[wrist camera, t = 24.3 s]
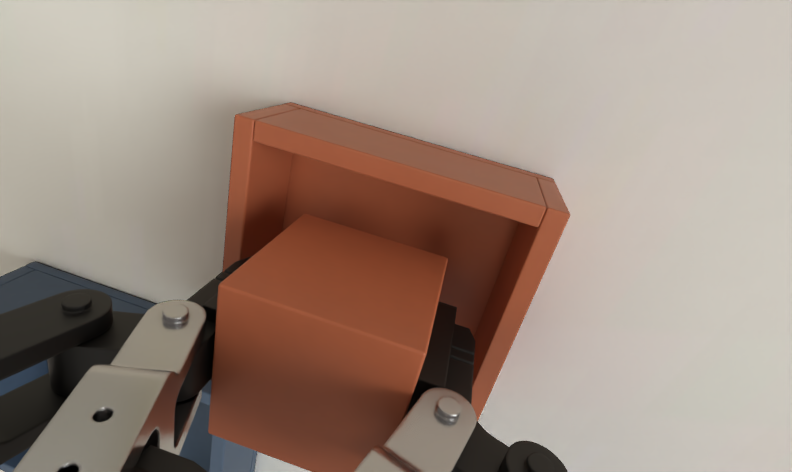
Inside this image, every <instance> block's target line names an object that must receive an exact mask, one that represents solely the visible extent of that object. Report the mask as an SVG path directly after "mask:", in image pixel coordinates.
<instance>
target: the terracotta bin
mask: <svg viewBox="0 0 792 472" xmlns="http://www.w3.org/2000/svg"><path fill="white" fill-rule="evenodd" d="M303 214H308V215H311V216H315V217H318V218H321V219H324V220H328V221H331V222H334V223H337V224H340V225H344V226H347V227H350V228H353V229H356V230H360V231H363V232H366V233H369V234H372V235H376V236H379V237H382V238H385V239H388V240H392V241H395V242H398V243H401V244H405V245H408V246H411V247H414V248H417V249H421V250H424V251H427V252H430V253H433V254H437V255H440V256H443V257H446V258H447V259H448V262H447V266H446V271H445V275H444V279H443V284H442V288H441V293H440V297H439V301H440V302H443V303H446V304H449V305H452V306H455V307H457V312H456V318H455V324H457V325H460V326H463V327H467V328H469V329H470V331H471V333H472V335H473V337H474V339H475V354H474V365H473V366H474V371H473V387H472V402H471V405H472V407H473V408H474V410H475V413H476V418H477V421H478V419H479V417H480V415H481V412H482V410H483V408H484V406H485V404H486V401H487V399H488V397H489V395H490V392H491V390H492V388H493V386H494V384H495V381H496V379H497V377H498V375H499V372H500V370H501V368H502V366H503V364H504V361H505V359H506V357H507V355H508V352H509V350H510V348H511V346H512V344H513V341H514V339H515V337H516V335H517V332H518V330H519V328H520V326H521V324H522V321H523V319H524V317H525V315H526V312H527V310H528V308H529V306H530V304H531V301H532V299H533V297H534V295H535V292H536V290H537V288H538V286H539V284H540V281H541V279H542V277H543V275H544V272H545V270H546V268H547V266H548V264H549V261H550V259H551V257H552V255H553V252H554V250H555V248H556V246H557V244H558V241H559V239H560V237H561V235H562V232H563V230H564V228H565V226H566V224H567V221H568V219H569V217H570V213H569V211H568V209H567V207H566V205H565V203H564V200H563V198H562V196H561V194H560V192H559V190H558V188H557V186H556V184H555V182H554V179H552V178H548V177H545V176H541V175H538V174H535V173H531V172H528V171H524V170H521V169H517V168H514V167H511V166H507V165H504V164H500V163H497V162H493V161H490V160H487V159H483V158H480V157H476V156H473V155H469V154H466V153H463V152H459V151H456V150H452V149H449V148H445V147H442V146H438V145H435V144H432V143H428V142H425V141H421V140H418V139H414V138H411V137H408V136H404V135H401V134H397V133H394V132H390V131H387V130H384V129H380V128H377V127H373V126H370V125H366V124H363V123H360V122H356V121H353V120H349V119H346V118H342V117H339V116H335V115H332V114H329V113H325V112H322V111H318V110H315V109H311V108H308V107H305V106H301V105H298V104H294V103H291V102H290V103H286V104H282V105H277V106H273V107H268V108H264V109H259V110H254V111H250V112H245V113H241V114H236V115H235V119H234V132H233V145H232V158H231V170H230V183H229V196H228V209H227V221H226V234H225V247H224V260H223V272H224V271H225V269H227V268H228V267H229V266H231V265H232V264H233V263H234V262H236V261H239V260H242V259H245V258H248V257H252V256H254V255H255V254H256V253H257V252H258V251H260V250H261V249H262V248H263V247H264V246H266V245H267V244H268V243H269V242H271V241H272V240H273V239H274V238H275V237H277V236H278V235H279V234H280V233H281V232H283V231H284V230H285V229H286V228H287V227H289V226H290V225H291V224H292V223H294V222H295V221H296V220H297V219H298V218H300V217H301V216H302V215H303Z"/></svg>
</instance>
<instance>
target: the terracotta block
mask: <svg viewBox="0 0 792 472" xmlns="http://www.w3.org/2000/svg"><path fill="white" fill-rule="evenodd" d="M447 262H448V259H447V258H446V257H443V256H440V255H437V254H433V253H430V252H427V251H424V250H421V249H417V248H414V247H411V246H408V245H405V244H401V243H398V242H395V241H392V240H388V239H385V238H382V237H379V236H376V235H372V234H369V233H366V232H363V231H360V230H356V229H353V228H350V227H347V226H344V225H340V224H337V223H334V222H331V221H328V220H324V219H321V218H318V217H315V216H311V215H308V214H303V215H302V216H301V217H300V218H298V219H297V220H296V221H295V222H294V223H292V224H291V225H290V226H289V227H287V228H286V229H285V230H284V231H283V232H281V233H280V234H279V235H278V236H277V237H275V238H274V239H273V240H272V241H271V242H269V243H268V244H267V245H266V246H264V247H263V248H262V249H261V250H260V251H258V252H257V253H256V254H255V255H254V256H252V257H251V258H250V259H249V260H248V261H246V262H245V263H244V264H243V265H241V266H240V267H239V268H238V269H237V270H235V271H234V272H233V273H232V274H231V275H229V276H228V277H227V278H226V279H225V280H223V281H222V282H221V283H220V284H219V286H218V298H217V312H216V326H215V341H214V355H213V369H212V383H211V398H210V412H209V426H208V432H209V433H210V434H212V435H214V436H217V437H220V438H223V439H225V440H228V441H231V442H233V443H236V444H239V445H241V446H244V447H247V448H249V449H252V450H255V451H258V452H260V453H263V454H266V455H268V456H271V457H274V458H276V459H279V460H282V461H284V462H287V463H290V464H293V465H295V466H298V467H301V468H303V469H306V470H309V471H311V472H354V471H355V469H356V468H357V467H358V465H359V464H360V463H361V462H362V460H363V459H364V458H365V457H366V455H367V454H368V453H369V452H370V450H371V449H372V448H373V447H374V446H376V445H379V446H381V447H382V446H383V445H384V444H385V443H386V441H387V440H388V439H389V437H390V436H391V435H392V433H393V432H394V431H395V429H396V428H397V427H398V426H399V424H400V423H401V422H402V420H403V419H404V418H405V416H406V413H407V410H408V407H409V404H410V401H411V398H412V395H413V393H414V390H415V387H416V384H417V381H418V378H419V375H420V372H421V369H422V366H423V363H424V360H425V357H426V354H427V350H428V346H429V341H430V337H431V332H432V328H433V324H434V319H435V315H436V310H437V306H438V301H439V297H440V293H441V288H442V284H443V279H444V275H445V271H446V266H447Z"/></svg>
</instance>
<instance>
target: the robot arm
mask: <svg viewBox="0 0 792 472" xmlns="http://www.w3.org/2000/svg"><path fill="white" fill-rule="evenodd" d="M250 258H251V257H248V258H245V259H242V260H239V261H236V262H234V263H233V264H232V265H231V266H229V267H228V268H227V269H225V271H224V272H222V273H220V274H219V275H218V276H217V277H216V279H213V280H212V281H210V282H209V283H208V284H207V285H205V286H204V287H203V288H202V289H200V290H199V291H198V292H197V293H195V294H194V295H193V296H191V297H190V298H189V299H188V300H170V301H165V302H161V303H159V304H156V305H154V306H153V307H151V308H150V309H149V310H148V311H147V312H146V313H145V314H140V313H130V312H119V311H113V308H112V299H111V298H110V296H109V295H107V294H106V293H104V292H101V291H98V290H92V289H77V290H70V291H66V292H62V293H59V294H56V295H53V296H51V297H48V298H45V299H42V300H39V301H36V302H34V303H31V304H28V305H25V306H22V307H19V308H16V309H14V310H11V311H8V312H5V313H2V314H0V381H1V380H3V379H6V378H8V377H10V376H12V375H14V374H16V373H19V372H21V371H23V370H25V369H27V368H30V367H32V366H34V365H36V364H38V363H40V362H43V361H45V360H47V362H48V369H49V373H47V374H45V375H43V376H41V377H39V378H37V379H35V380H33V381H31V382H29V383H26V384H24V385H22V386H20V387H18V388H16V389H14V390H12V391H10V392H8V393H6V394H4V395H2V396H0V465H1V464H3V463H5V462H6V461H8V460H10V459H11V458H13V457H15V456H16V455H18V454H20V453H21V452H23V451H25V450H26V449H28V448H30V449H29V450H28V451H27V453H26V454H25V455H24V457H23V458H22V459H21V461H20V462H19V463H18V465H17V466H16V468H15V469H14V470H13V472H207V471H206V470H205V469H203V468H202V467H201V466H200V465H198V464H197V463H196V462H194V461H192V460H189V459H187V458H184V457H181V456H179V454H180V452H181V449H182V446H183V444H184V441H185V439H186V436H187V434H188V431H189V429H190V426H191V423H192V421H193V418H194V416H195V413H196V411H197V408H198V406H199V403H200V400H201V397H202V388H203V387H204V386H205V385H206V384H207V383H208V382H209V380H211V381H212V369H213V355H214V341H215V326H216V312H217V298H218V286H219V284H220V283H221V282H222V281H223V280H225V279H226V278H227V277H228V276H229V275H231V274H232V273H233V272H234V271H235V270H237V269H238V268H239V267H240V266H241V265H243V264H244V263H245V262H246V261H248V260H249V259H250ZM456 312H457V307H455V306H452V305H449V304H446V303H443V302H440V301H438V306H437V310H436V315H435V319H434V324H433V328H432V332H431V337H430V341H429V346H428V350H427V354H426V357H425V360H424V363H423V366H422V369H421V372H420V375H419V378H418V381H417V384H416V387H415V390H414V393H413V395H412V398H411V401H410V404H409V407H408V410H407V413H406V416H405V418H404V419H403V420H402V422H401V423H400V424H399V426H398V427H397V428H396V429H395V431H394V432H393V433H392V435H391V436H390V437H389V439H388V440H387V441H386V443H385V444H384V445H383V446H382V447H381V446H379V445H376V446H374V447H373V448H372V449H371V450H370V452H369V453H368V454H367V455H366V457H365V458H364V459H363V460H362V462H361V463H360V464H359V465H358V467H357V468H356V469H355V471H354V472H567V470H566V468H565V466H564V465H563V463H562V462H561V461H560V460H559V459H558V457H556V456H555V455H554V454H553V453H552V452H551V451H549V450H548V449H547V448H545V447H543V446H541V445H539V444H537V443H534V442H530V441H518V442H516V443H514V444H512V445H511V446H510V447H508V446H506V445H505V444H503V443H502V442H500V441H499V440H497V439H496V438H494V437H493V436H491V435H490V434H489V433H488V432H486V431H485V430H484V429H483V428H482V427H481V425H480V424H479V423H478V421H477V418H476V413H475V410H474V408H473V407H472V405H471V402H472V387H473V371H474V366H473V365H474V354H475V339H474V337H473V335H472V333H471V331H470V329H469V328H467V327H463V326H460V325H457V324H455V318H456Z"/></svg>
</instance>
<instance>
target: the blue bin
mask: <svg viewBox="0 0 792 472" xmlns="http://www.w3.org/2000/svg"><path fill="white" fill-rule="evenodd" d="M77 289H92V290H98V291H101V292H104V293H106V294H107V295H109V296H110V298H111V299H112V308H113V311H119V312H130V313H140V314H145V313H146V312H147V311H148V310H149V309H150V308H151V307H153V306H154V305H156V304H154V303H151V302H148V301H146V300H143V299H140V298H137V297H134V296H131V295H128V294H126V293H123V292H120V291H117V290H114V289H111V288H109V287H106V286H103V285H100V284H97V283H94V282H92V281H89V280H86V279H83V278H80V277H77V276H74V275H72V274H69V273H66V272H63V271H60V270H57V269H55V268H52V267H49V266H46V265H43V264H40V263H37V262H32V263H30V264H28V265H26V266H25V267H21V268H19V269H17V270H14V271H12V272H10V273H8V274H5V275H3V276H1V277H0V314H2V313H5V312H8V311H11V310H14V309H16V308H19V307H22V306H25V305H28V304H31V303H34V302H36V301H39V300H42V299H45V298H48V297H51V296H53V295H56V294H59V293H62V292H66V291H70V290H77ZM47 373H49V369H48V362H47V360H45V361H43V362H40V363H38V364H36V365H34V366H32V367H30V368H27V369H25V370H23V371H21V372H19V373H16V374H14V375H12V376H10V377H8V378H6V379H3V380H1V381H0V396H2V395H4V394H6V393H8V392H10V391H12V390H14V389H16V388H18V387H20V386H22V385H24V384H26V383H29V382H31V381H33V380H35V379H37V378H39V377H41V376H43V375H45V374H47ZM211 383H212V381H211V380H209V382H208V383H207V384H206V385H205V386H204V387H203V388H202V397H201V400H200V403H199V406H198V408H197V411H196V413H195V416H194V418H193V421H192V423H191V426H190V429H189V431H188V434H187V436H186V439H185V441H184V444H183V446H182V449H181V452H180V454H179V456H181V457H184V458H187V459H189V460H192V461H194V462H196V463H197V464H198V465H200V466H201V467H202V468H203V469H205V470H206V471H207V472H254V468H255V462H256V455H257V451H255V450H252V449H249V448H247V447H244V446H241V445H239V444H236V443H233V442H231V441H228V440H225V439H223V438H220V437H217V436H214V435H212V434H210V433H209V432H208V426H209V412H210V398H211ZM29 449H30V448H28V449H26V450H25V451H23V452H21V453H20V454H18V455H16V456H15V457H13V458H11V459H10V460H8V461H6V462H5V463H3V464H1V465H0V469H1V470H3V471H5V472H13V470H14V469H15V468H16V466H17V465H18V463H19V462H20V461H21V459H22V458H23V457H24V455H25V454H26V453H27V451H28V450H29Z"/></svg>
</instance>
